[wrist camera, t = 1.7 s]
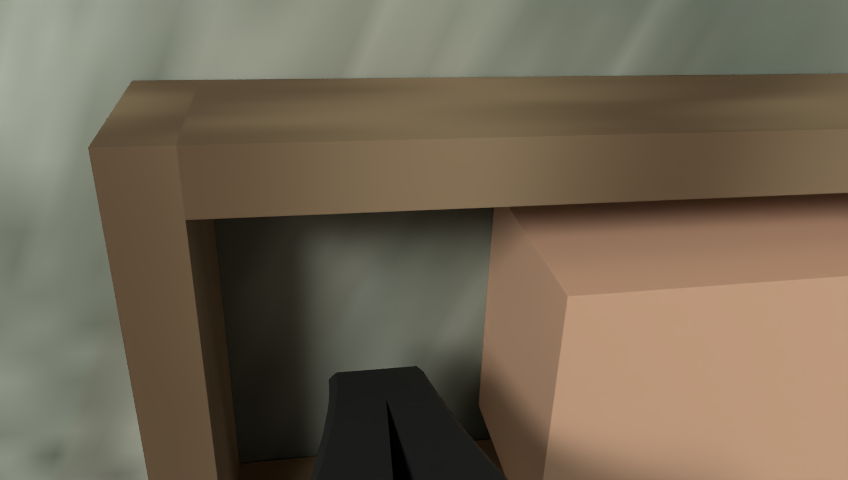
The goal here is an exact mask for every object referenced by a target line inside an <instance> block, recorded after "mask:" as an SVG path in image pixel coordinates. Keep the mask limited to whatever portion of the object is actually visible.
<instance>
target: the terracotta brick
mask: <svg viewBox="0 0 848 480" xmlns="http://www.w3.org/2000/svg"><path fill="white" fill-rule="evenodd" d="M479 407H480V410H481V412H482V415H483V418H484V420H485V423H486V426H487V429H488V431H489V434H490V437H491V439H492V442H493V445H494V447H495V450H496V453H497V456H498V458H499V461H500V464H501V466H502V469H503V472H504V474H505V477H506V478H507V479H508V480H848V193H828V194H804V195H779V196H755V197H731V198H707V199H682V200H658V201H634V202H610V203H585V204H561V205H537V206H513V207H494V213H493V226H492V239H491V251H490V264H489V277H488V290H487V303H486V316H485V329H484V342H483V355H482V368H481V381H480V393H479Z"/></svg>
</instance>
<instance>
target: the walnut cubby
mask: <svg viewBox="0 0 848 480" xmlns="http://www.w3.org/2000/svg"><path fill="white" fill-rule="evenodd" d="M88 149H89V154H90V160H91V165H92V171H93V176H94V182H95V187H96V193H97V198H98V204H99V209H100V215H101V220H102V226H103V231H104V237H105V242H106V248H107V253H108V259H109V264H110V270H111V275H112V281H113V286H114V292H115V298H116V303H117V309H118V314H119V320H120V325H121V331H122V336H123V342H124V347H125V353H126V358H127V364H128V369H129V375H130V380H131V386H132V391H133V397H134V402H135V408H136V413H137V419H138V424H139V430H140V435H141V441H142V446H143V452H144V457H145V463H146V468H147V474H148V479H149V480H310V477H311V474H312V471H313V468H314V464H315V461H316V457H317V456H314V457H303V458H293V459H283V460H273V461H262V462H252V463H242V464H239V455H238V446H237V436H236V427H235V417H234V407H233V398H232V388H231V379H230V369H229V359H228V350H227V340H226V331H225V321H224V311H223V302H222V292H221V283H220V273H219V264H218V254H217V244H216V235H215V225H214V219H222V218H246V217H270V216H294V215H319V214H343V213H367V212H391V211H416V210H440V209H464V208H488V207H513V206H537V205H561V204H585V203H610V202H634V201H658V200H682V199H707V198H731V197H755V196H779V195H804V194H828V193H848V74H764V75H663V76H562V77H461V78H361V79H260V80H159V81H132V82H131V83H130V85H129V86H128V88H127V89H126V91H125V92H124V94H123V96H122V97H121V99H120V100H119V102H118V103H117V105H116V106H115V108H114V109H113V111H112V112H111V114H110V115H109V117H108V118H107V120H106V121H105V123H104V124H103V126H102V127H101V129H100V130H99V132H98V134H97V135H96V137H95V138H94V140H93V141H92V143H91V144H90V146H89V147H88ZM475 442H476V443H477V445H478V446H479V447H480V448H481V449H482V450H483V452H484V453H485V454H486V455H487V456H488V458H489V459H490V460H491V461H492V462H493V463H494V465H495V466H496V467H497V468H498V469H499V470H500V471H501V472H502V473H503V474H504V472H503V469H502V466H501V464H500V461H499V458H498V456H497V453H496V450H495V447H494V445H493V442H492V439H489V440H479V441H475ZM504 476H505V474H504Z"/></svg>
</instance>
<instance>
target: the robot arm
mask: <svg viewBox="0 0 848 480" xmlns="http://www.w3.org/2000/svg"><path fill="white" fill-rule="evenodd" d="M310 480H508V479H507V478H506V477H505V476H504V474H503V473H502V472H501V471H500V470H499V469H498V468H497V467H496V466H495V465H494V463H493V462H492V461H491V460H490V459H489V458H488V456H487V455H486V454H485V453H484V452H483V450H482V449H481V448H480V447H479V446H478V445H477V443H476V442H475V441H474V440H473V439H472V438H471V436H470V435H469V434H468V433H467V431H466V430H465V429H464V428H463V426H462V425H461V424H460V423H459V421H458V420H457V419H456V417H455V416H454V415H453V413H452V412H451V411H450V410H449V408H448V407H447V406H446V404H445V403H444V401H443V400H442V399H441V397H440V396H439V394H438V393H437V392H436V390H435V389H434V387H433V386H432V384H431V383H430V381H429V380H428V378H427V377H426V375H425V374H424V372H423V371H422V370H420V369H419V368H418V367H417V366H413V367H401V368H388V369H376V370H363V371H351V372H338V373H336V374H335V375H333V376H332V377H331V378H330V379H329V405H328V412H327V417H326V422H325V427H324V432H323V436H322V440H321V443H320V447H319V450H318V454H317V457H316V461H315V464H314V468H313V471H312V474H311V477H310Z"/></svg>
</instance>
